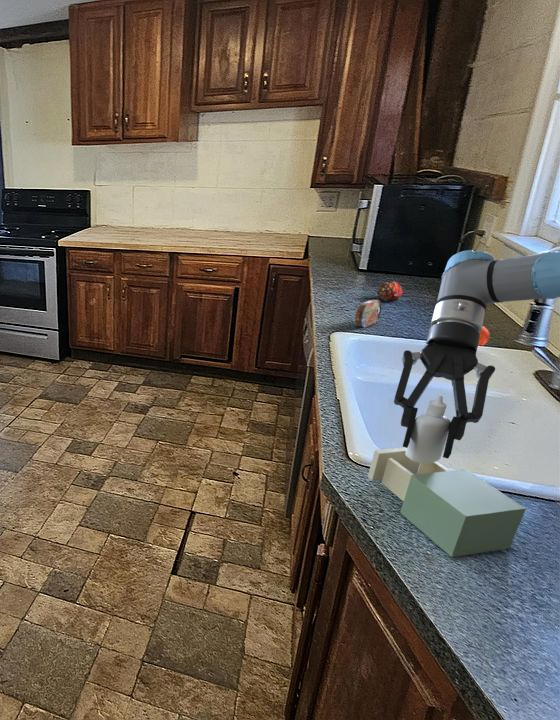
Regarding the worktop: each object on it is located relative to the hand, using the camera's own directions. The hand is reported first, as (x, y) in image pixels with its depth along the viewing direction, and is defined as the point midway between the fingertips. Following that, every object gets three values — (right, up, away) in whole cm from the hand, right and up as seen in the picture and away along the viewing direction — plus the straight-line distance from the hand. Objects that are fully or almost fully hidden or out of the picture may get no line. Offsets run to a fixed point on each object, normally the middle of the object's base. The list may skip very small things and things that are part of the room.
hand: (425, 449), depth 88 cm
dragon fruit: (+69, +39, +128) cm, 151 cm away
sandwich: (+43, +27, +98) cm, 111 cm away
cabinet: (+4, -13, -1) cm, 13 cm away
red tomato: (+66, +19, +79) cm, 105 cm away
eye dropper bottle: (+2, -2, +4) cm, 5 cm away
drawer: (+2, -8, +8) cm, 12 cm away
